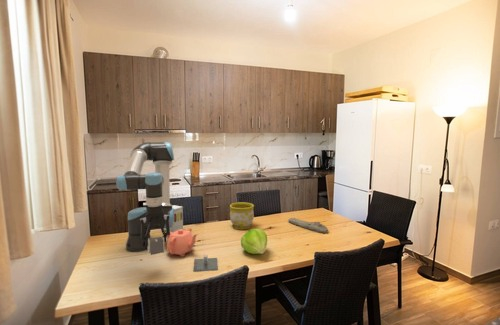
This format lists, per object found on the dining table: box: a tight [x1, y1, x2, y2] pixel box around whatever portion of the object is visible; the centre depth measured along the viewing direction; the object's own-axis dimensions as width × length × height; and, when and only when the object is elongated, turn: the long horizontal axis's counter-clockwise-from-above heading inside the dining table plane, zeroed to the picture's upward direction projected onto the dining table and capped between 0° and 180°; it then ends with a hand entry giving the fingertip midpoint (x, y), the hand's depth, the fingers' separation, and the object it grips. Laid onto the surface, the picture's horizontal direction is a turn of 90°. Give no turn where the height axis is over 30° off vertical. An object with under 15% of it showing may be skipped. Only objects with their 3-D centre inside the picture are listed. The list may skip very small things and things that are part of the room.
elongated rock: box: [288, 217, 329, 234], centre depth 200 cm, size 35×5×10 cm
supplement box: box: [164, 204, 184, 233], centre depth 192 cm, size 10×9×17 cm
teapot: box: [166, 228, 199, 258], centre depth 154 cm, size 16×17×14 cm
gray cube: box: [149, 236, 165, 256], centre depth 133 cm, size 6×6×6 cm
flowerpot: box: [229, 201, 255, 230], centre depth 199 cm, size 18×18×16 cm
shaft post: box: [193, 254, 219, 272], centre depth 140 cm, size 12×12×5 cm
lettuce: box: [240, 228, 268, 255], centre depth 154 cm, size 15×20×14 cm
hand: (156, 250), depth 133 cm, fingers closed on gray cube, 6 cm apart
